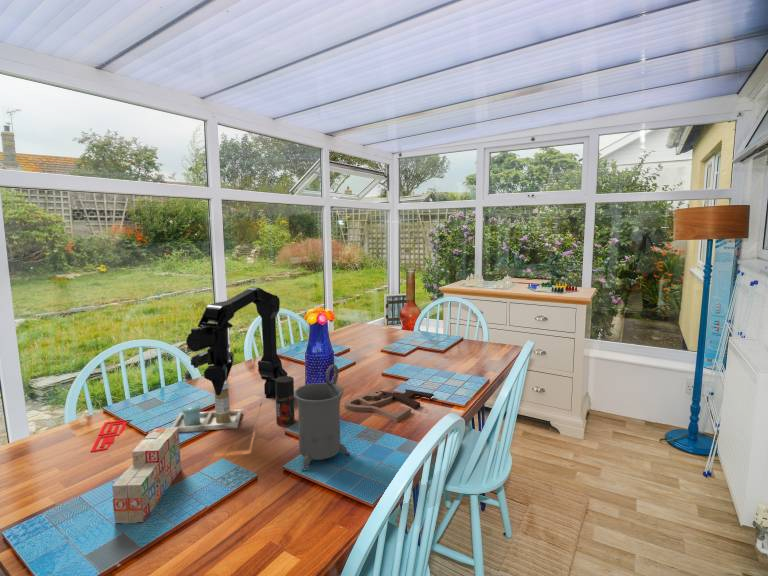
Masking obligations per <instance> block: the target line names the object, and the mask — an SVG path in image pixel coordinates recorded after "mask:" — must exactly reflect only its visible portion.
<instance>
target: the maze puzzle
mask: <svg viewBox="0 0 768 576" xmlns="http://www.w3.org/2000/svg"><path fill="white" fill-rule="evenodd" d="M124 420H125V419H120V420H113V421H105V422H103V425H102V427H101V429H100V431H99V433H98V436H97V437H96V440H95V441H94V444H93V445H92V448H91V449H90V453H96V452H101V451H106V450H109V449H110V447H112V445H113V444H114V443H115V437H117V438H119V437H120V435H122V433H123V432H124V431H125V430H126V426H127V424H128V423H127V421H124ZM108 425H109V426H108ZM120 425H121V428H120V431H119V433H118V430H119V427H120ZM107 426H108V428H107ZM113 427H114V429H113ZM106 428H107V430H106ZM112 429H113V431H112ZM105 430H106V432H105ZM101 439H102V441H101ZM100 441H101V444H100V446H99V443H100ZM105 445H107V446H106V447H105ZM98 447H99V448H98Z"/></svg>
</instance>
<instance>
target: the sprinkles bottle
mask: <svg viewBox="0 0 768 576" xmlns="http://www.w3.org/2000/svg"><path fill="white" fill-rule="evenodd" d="M229 386H230V385H229V381H228V380H227V381H226V380H225V383H224V386H223V389H222V392H221V394H220V395H216V392H215V389H214V388H213V389H214V390H213V391H214V411H215V412H216V422H217V423H227V422H228V421H230V413H229V411H230V410H231V409H230V407H231V406H230V395H229V394H230V393H229Z"/></svg>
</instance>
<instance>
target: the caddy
mask: <svg viewBox="0 0 768 576" xmlns="http://www.w3.org/2000/svg"><path fill="white" fill-rule="evenodd" d="M242 410H243V409H242V408H240V409H239V408H238V409H230V411H229V413H230V421H228V422H227V423H217V422H216V412H215V410H214V411H213V410H212V411H210V410H209V411H200V424H199V425H193V426H184V412H183V413H179V414H178V415H177V417H176V419H175V420H174V422H173V423H172V424H171V426H170V428H179V433H188V432H200V431H215V430H226V429H227V430H229V429H237V428H238V426H239V425H240V424H239V423H240V420H241V417H242V415H243V412H242Z"/></svg>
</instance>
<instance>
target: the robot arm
mask: <svg viewBox="0 0 768 576" xmlns="http://www.w3.org/2000/svg"><path fill="white" fill-rule="evenodd" d="M250 304H254V305H255V307H256V312H257V314H258V315H259V316H260V318H261V332H262V333H261V335H262V353H263V354H262V356H261V359H260V360H258V361H257V366H258V367H257V372H258V373H259V375H260V378H261V380H265V381H264V387H263V388H264V395H265V398H266V399H267V398H268V399H269V398H276V389H275V379H276V378H278V377H282V376H288V372H287V371H286V370H285V369H284V368H283V364H282V360H281V358H280V357H279V355H278V353H277V351H278V350H277V329H276V328H277V326H276V317H277V315H278V313H279V312H280V307H281V306H280V305H281V300H280V297H279V296H278V295H276V294H272V293H271V292H268V291H265V290H263V289H262V288H261V287H254V286H250V287H247V288H246V290H243V291H242V292H240V293H239V294H236V295H234V296H232V297H231V298H229V299H226V300H224V301H218V302H215V303H210V304H207V306H206V307H205V310H204V312H203V314H202V316H201V318H200V320H199V322H198V324H197V327H194V328H191V329H190V333H188V335H187V337H186V340H185V341H186V342H185V343H186V346H187V348H188V349H189V350H190V351H192V352H195V353H196V352H198V351H202V350H204V349H206V351H205V350H204V351H203V352H200V353H197V354H194V355H192V357H191V358H190V365H191V366H193V369H197V368H199V367H201V366H203V365H206V364H207V367H206V368H205V370H204V371H203V378H204V379H206V380H208V381H210V382H211V384H212V386H213V389H215V390H214V393H215V392H216V395H220V394H221V392H222V389H223V386H224V383H225V380H226V381H228V378H229V376H230V374H231V370H232V367H233V364H234V361H235V354H234V352H232V351H230V347H231V344H230V343H229V329H230V328H232V327H233V324H232V323H230V320H232V319H233V318H234V317H235V313H237V312H238V311H240V310H242V309H244V308H245V307H246V306H248V305H250Z"/></svg>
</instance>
